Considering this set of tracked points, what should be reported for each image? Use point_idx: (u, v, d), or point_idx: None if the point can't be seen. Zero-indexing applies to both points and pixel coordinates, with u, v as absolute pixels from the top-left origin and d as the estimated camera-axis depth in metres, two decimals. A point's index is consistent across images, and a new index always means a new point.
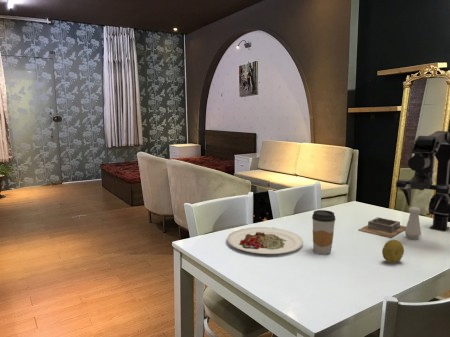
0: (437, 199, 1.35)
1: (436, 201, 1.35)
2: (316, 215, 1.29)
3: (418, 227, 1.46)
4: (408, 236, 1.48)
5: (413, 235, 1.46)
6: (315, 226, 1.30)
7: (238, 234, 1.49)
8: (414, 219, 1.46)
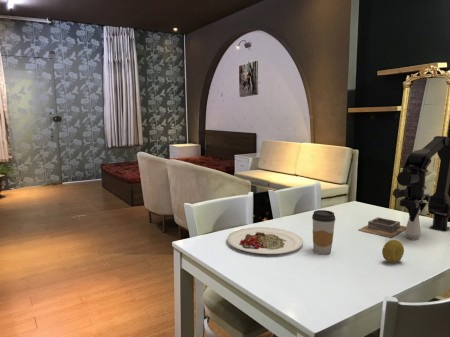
0: None
1: None
2: (316, 215, 1.29)
3: (418, 227, 1.46)
4: (408, 236, 1.48)
5: (413, 235, 1.46)
6: (315, 226, 1.30)
7: (238, 234, 1.49)
8: None
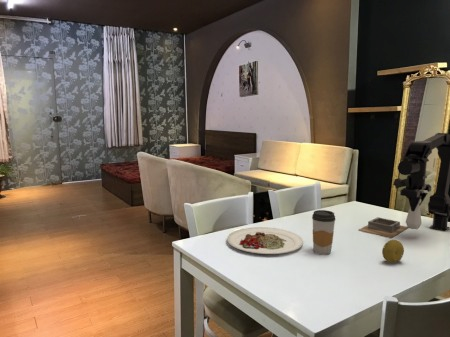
0: None
1: None
2: (316, 215, 1.29)
3: (419, 217, 1.45)
4: (409, 226, 1.47)
5: (413, 224, 1.45)
6: (315, 226, 1.30)
7: (238, 234, 1.49)
8: (415, 209, 1.45)
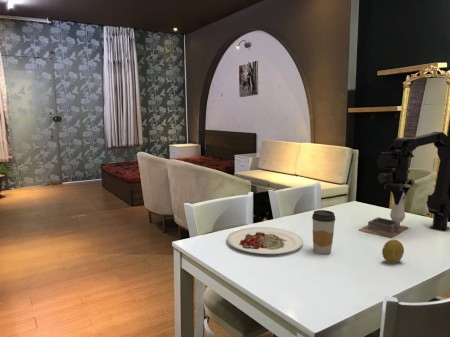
0: None
1: None
2: (316, 215, 1.29)
3: (402, 210, 1.51)
4: (393, 219, 1.53)
5: (397, 217, 1.51)
6: (315, 226, 1.30)
7: (238, 234, 1.49)
8: (399, 202, 1.51)
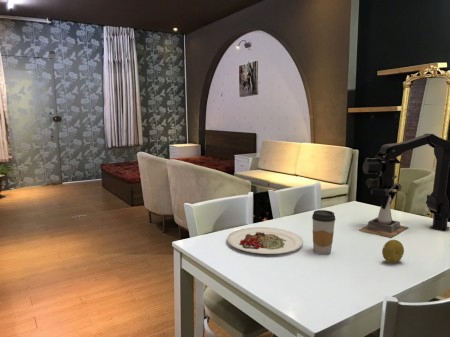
0: None
1: None
2: (316, 215, 1.29)
3: (389, 214, 1.57)
4: (380, 223, 1.59)
5: (384, 221, 1.57)
6: (315, 226, 1.30)
7: (238, 234, 1.49)
8: None
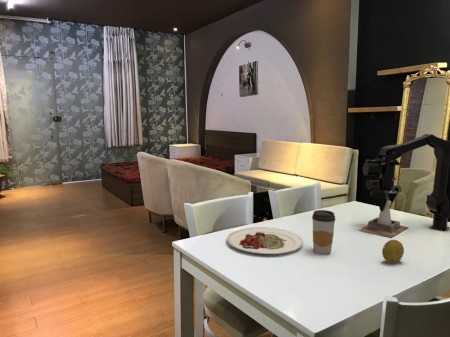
0: None
1: None
2: (316, 215, 1.29)
3: (389, 218, 1.57)
4: None
5: None
6: (315, 226, 1.30)
7: (238, 234, 1.49)
8: (385, 210, 1.57)
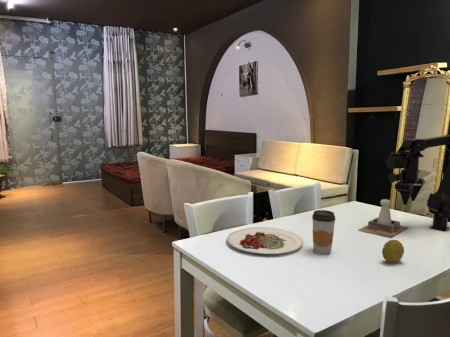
0: None
1: None
2: (316, 215, 1.29)
3: (389, 218, 1.57)
4: None
5: None
6: (315, 226, 1.30)
7: (238, 234, 1.49)
8: (385, 211, 1.57)
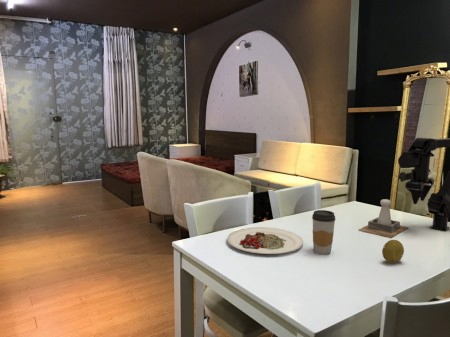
0: None
1: None
2: (316, 215, 1.29)
3: (389, 218, 1.57)
4: None
5: None
6: (315, 226, 1.30)
7: (238, 234, 1.49)
8: (385, 211, 1.57)
